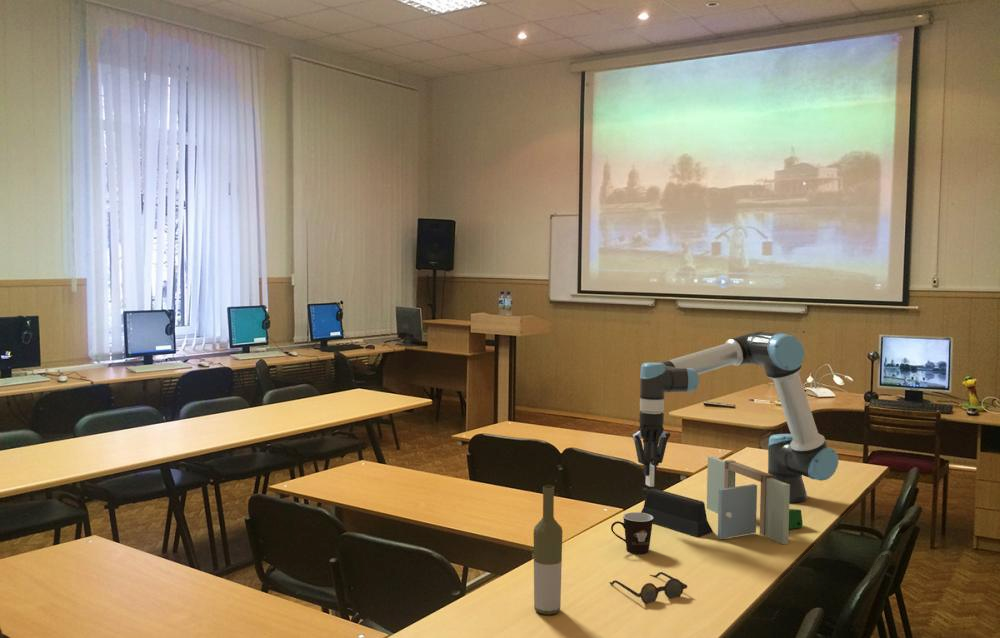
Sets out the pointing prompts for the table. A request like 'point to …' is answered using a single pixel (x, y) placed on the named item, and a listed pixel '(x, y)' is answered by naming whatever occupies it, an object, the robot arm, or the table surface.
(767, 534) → the door frame
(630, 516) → the coffee mug
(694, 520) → the barrier
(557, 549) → the bottle
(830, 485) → the table surface
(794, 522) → the clamp
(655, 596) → the eyeglasses
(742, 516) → the door
